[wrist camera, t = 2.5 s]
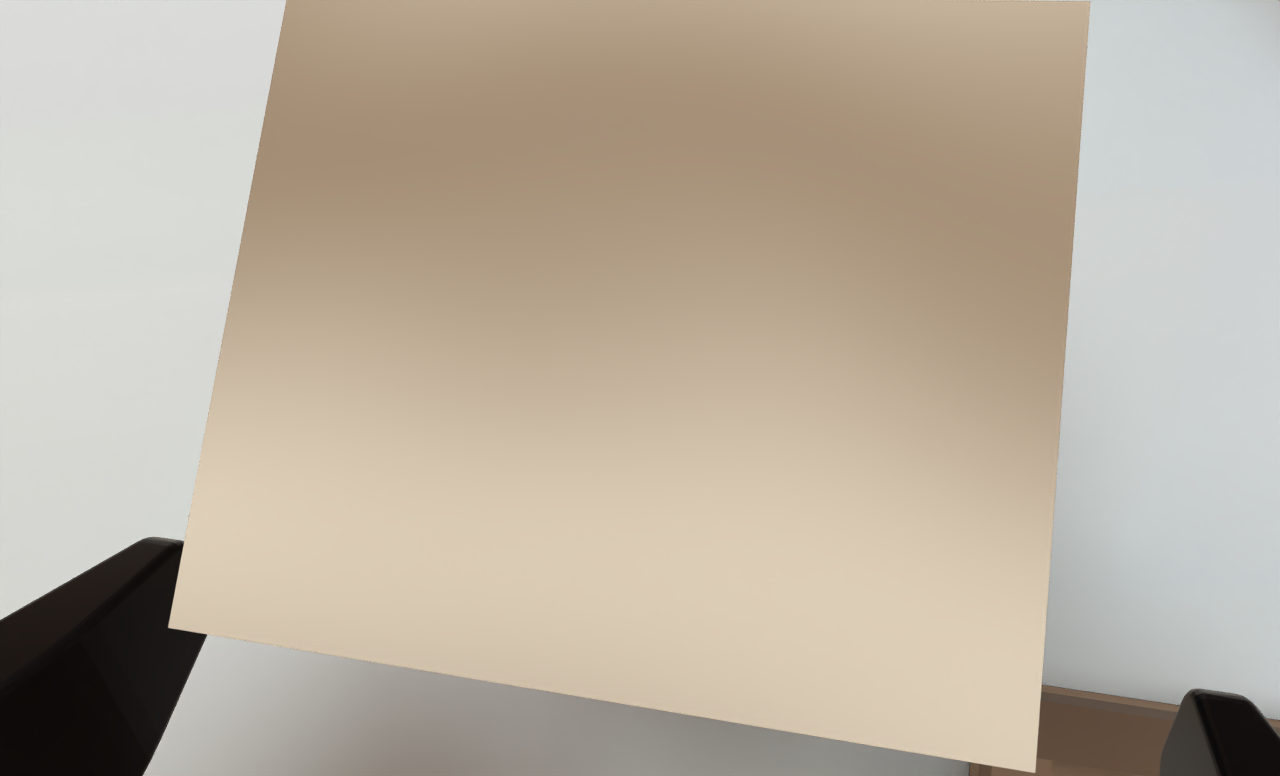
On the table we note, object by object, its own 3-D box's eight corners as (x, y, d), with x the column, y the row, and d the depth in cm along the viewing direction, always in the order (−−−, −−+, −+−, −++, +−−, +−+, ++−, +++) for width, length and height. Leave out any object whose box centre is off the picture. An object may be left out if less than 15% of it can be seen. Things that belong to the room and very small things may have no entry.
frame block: (924, 637, 18) (1051, 776, 6) (584, 588, 19) (167, 627, 8) (949, 353, 18) (1105, 0, 7) (620, 326, 20) (287, -8, 8)
